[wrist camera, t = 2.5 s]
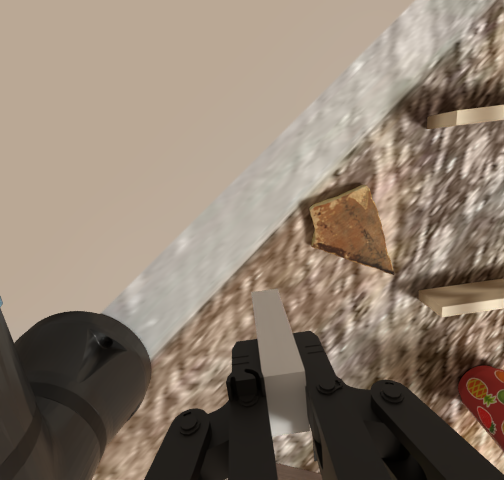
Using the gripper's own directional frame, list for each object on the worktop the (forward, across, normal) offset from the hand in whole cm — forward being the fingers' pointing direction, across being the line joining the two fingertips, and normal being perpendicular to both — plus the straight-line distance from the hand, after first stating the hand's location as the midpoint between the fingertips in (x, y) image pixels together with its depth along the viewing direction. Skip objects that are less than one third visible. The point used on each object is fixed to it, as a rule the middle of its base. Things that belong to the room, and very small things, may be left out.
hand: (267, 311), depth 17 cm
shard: (+16, +12, 0) cm, 20 cm away
